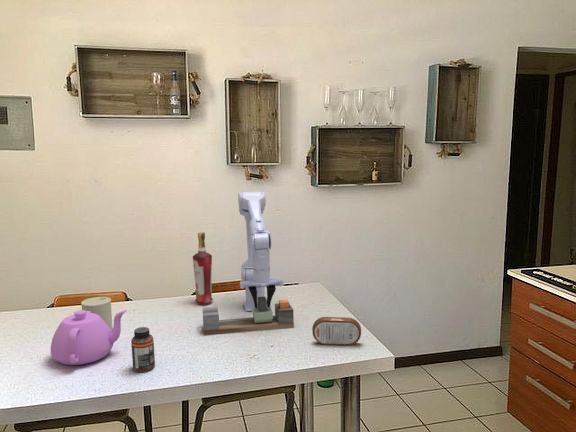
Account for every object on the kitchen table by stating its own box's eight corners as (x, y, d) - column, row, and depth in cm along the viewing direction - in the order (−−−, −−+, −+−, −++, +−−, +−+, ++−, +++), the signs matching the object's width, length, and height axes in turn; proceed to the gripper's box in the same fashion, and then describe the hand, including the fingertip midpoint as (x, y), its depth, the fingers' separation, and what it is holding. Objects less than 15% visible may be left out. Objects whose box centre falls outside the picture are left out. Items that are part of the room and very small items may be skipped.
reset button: (278, 309, 170) (278, 300, 169) (287, 309, 170) (287, 299, 170) (280, 312, 167) (280, 302, 166) (289, 312, 168) (288, 302, 167)
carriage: (252, 317, 170) (252, 296, 169) (269, 316, 171) (269, 295, 170) (255, 324, 164) (254, 301, 163) (272, 322, 165) (272, 300, 164)
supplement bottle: (135, 363, 139) (133, 325, 138) (156, 362, 140) (154, 324, 138) (130, 373, 133) (128, 333, 132) (152, 372, 134) (150, 332, 132)
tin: (361, 342, 152) (361, 316, 151) (361, 346, 149) (361, 320, 148) (312, 341, 154) (312, 315, 152) (312, 345, 151) (311, 319, 149)
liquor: (191, 303, 193) (188, 233, 189) (206, 299, 198) (204, 230, 194) (201, 307, 187) (198, 235, 183) (217, 303, 192) (214, 232, 188)
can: (119, 331, 164) (117, 297, 162) (98, 342, 155) (95, 305, 154) (98, 327, 168) (96, 294, 166) (77, 337, 159) (74, 301, 158)
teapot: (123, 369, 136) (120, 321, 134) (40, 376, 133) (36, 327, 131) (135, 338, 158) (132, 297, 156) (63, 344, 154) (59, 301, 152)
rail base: (203, 325, 168) (202, 307, 168) (288, 318, 174) (288, 300, 173) (203, 335, 160) (203, 316, 159) (293, 327, 165) (293, 308, 165)
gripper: (241, 272, 160) (242, 312, 162) (284, 269, 163) (285, 309, 165) (239, 267, 167) (240, 306, 169) (280, 264, 169) (281, 302, 171)
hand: (262, 307), depth 167 cm, fingers open, 4 cm apart
